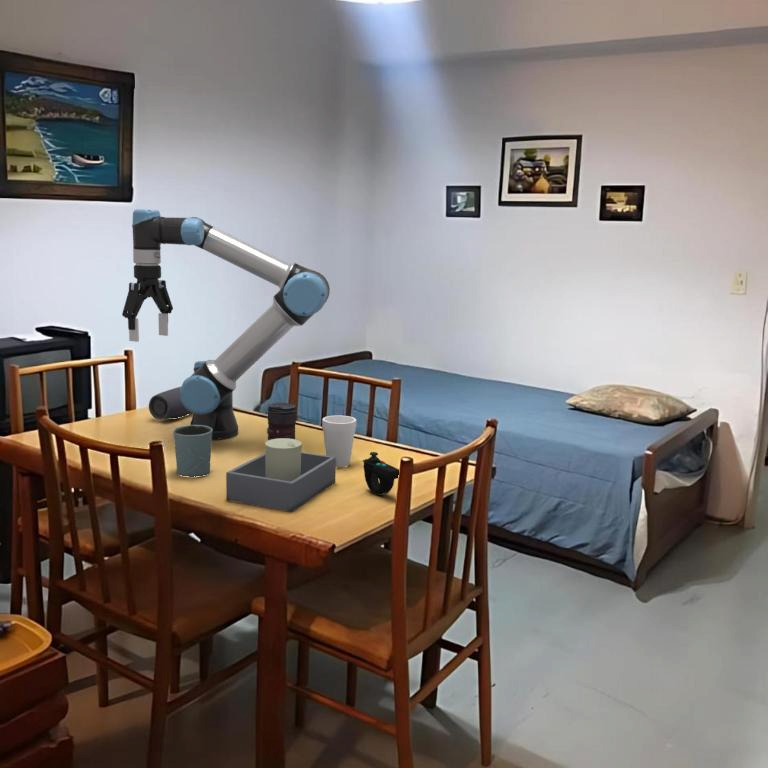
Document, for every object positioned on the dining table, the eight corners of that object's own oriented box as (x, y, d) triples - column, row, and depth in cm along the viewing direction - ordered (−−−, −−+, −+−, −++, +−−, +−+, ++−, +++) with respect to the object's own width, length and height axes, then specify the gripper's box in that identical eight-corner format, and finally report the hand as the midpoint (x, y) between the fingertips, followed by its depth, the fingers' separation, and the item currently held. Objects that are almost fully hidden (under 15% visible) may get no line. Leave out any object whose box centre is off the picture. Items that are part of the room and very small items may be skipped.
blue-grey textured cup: (212, 466, 224) (212, 424, 222) (213, 478, 215) (212, 434, 212) (174, 468, 222) (173, 425, 220) (173, 479, 213) (172, 435, 210)
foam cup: (322, 469, 225) (323, 423, 223) (320, 459, 234) (320, 415, 232) (357, 469, 227) (358, 423, 224) (353, 459, 236) (354, 415, 233)
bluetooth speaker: (189, 407, 290) (189, 380, 288) (211, 410, 286) (211, 383, 284) (147, 421, 270) (146, 391, 268) (170, 425, 266) (169, 395, 264)
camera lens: (290, 460, 232) (291, 409, 229) (263, 458, 234) (263, 407, 231) (299, 453, 240) (300, 403, 237) (273, 450, 241) (273, 401, 238)
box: (274, 472, 221) (274, 447, 220) (335, 482, 215) (335, 456, 213) (226, 500, 199) (226, 472, 198) (292, 511, 193) (292, 483, 191)
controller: (373, 486, 213) (374, 449, 211) (402, 499, 203) (403, 461, 201) (359, 488, 211) (360, 451, 208) (388, 503, 201) (389, 464, 199)
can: (285, 495, 201) (286, 448, 198) (256, 488, 205) (257, 441, 203) (308, 486, 208) (309, 440, 206) (280, 478, 213) (280, 434, 211)
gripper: (129, 267, 221) (132, 345, 225) (184, 263, 244) (185, 334, 248) (107, 265, 224) (109, 342, 228) (163, 262, 246) (164, 332, 251)
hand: (149, 338), depth 238 cm, fingers open, 13 cm apart
